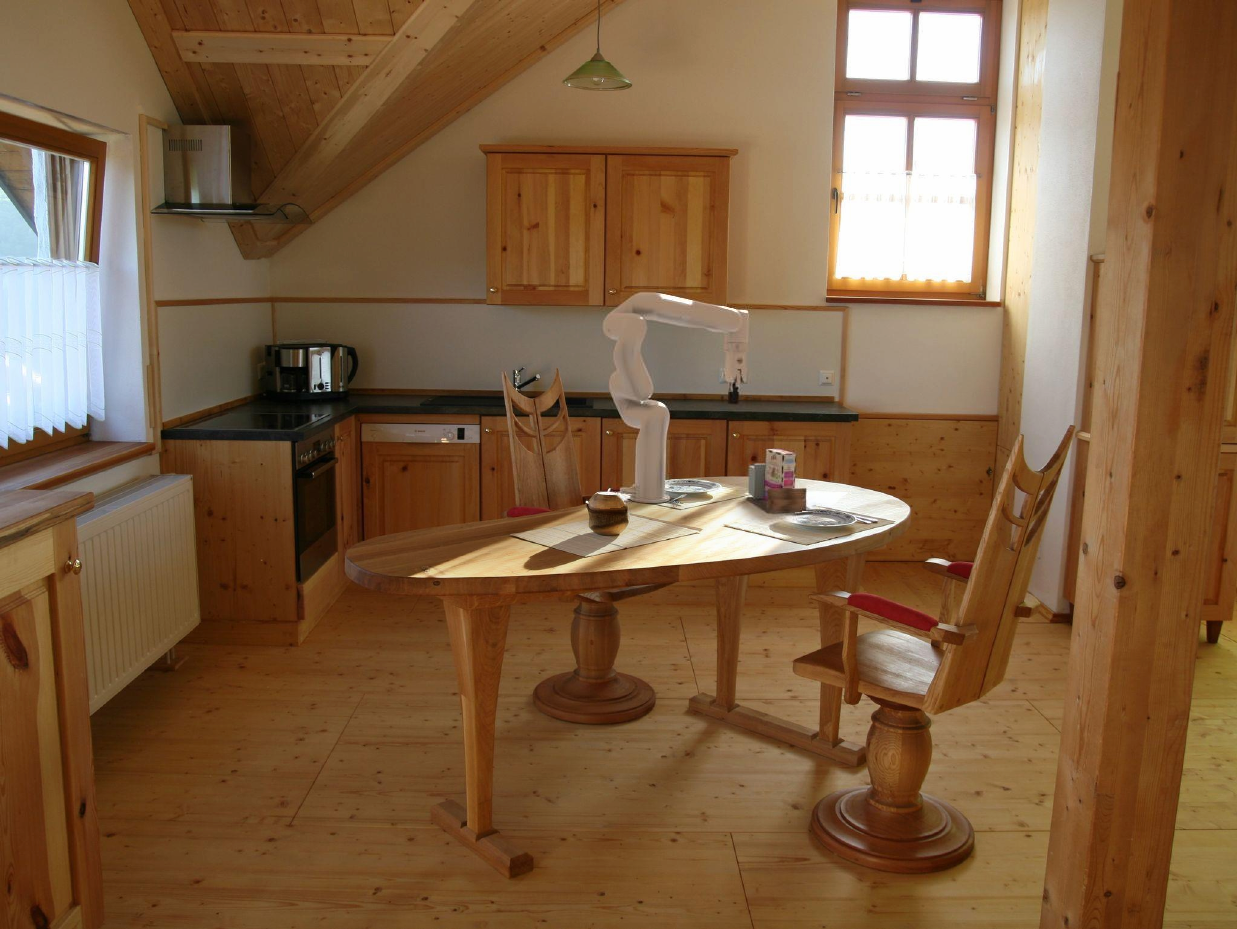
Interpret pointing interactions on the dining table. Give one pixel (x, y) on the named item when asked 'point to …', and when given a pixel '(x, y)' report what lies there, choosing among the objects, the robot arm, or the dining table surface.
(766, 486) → the candy bar box
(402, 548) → the dining table surface
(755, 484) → the block
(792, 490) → the book rack
